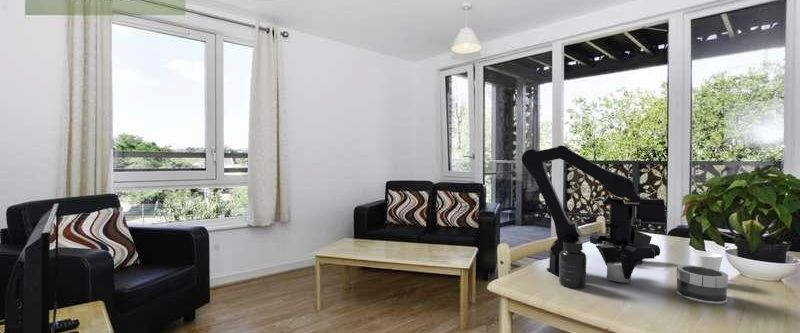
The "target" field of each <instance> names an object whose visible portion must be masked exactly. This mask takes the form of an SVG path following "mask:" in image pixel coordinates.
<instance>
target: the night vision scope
mask: <svg viewBox="0 0 800 333" xmlns="http://www.w3.org/2000/svg"><path fill="white" fill-rule="evenodd" d="M631 245H640V244H631ZM641 245H642V244H641ZM649 247H651V248H653V250H654V251H655V256H654V258H656V257H659V256H660V255H661V248H660V246H659V245H658V244H654V243H650V244H649ZM620 255H625V253H624V250H622V249H620V248H619V249H618V251H617V252H616V253H615V262H620V263H621V260H620ZM643 260H644V259H641V260H640V261H638V263H637V264H643Z"/></svg>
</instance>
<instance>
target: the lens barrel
mask: <svg viewBox="0 0 800 333" xmlns="http://www.w3.org/2000/svg"><path fill="white" fill-rule="evenodd" d="M728 286H729V275H728V274H727V273H726V272H724V271H722V270H720V269H719V270H716V269H712V268H707V267H702V266H694V265H689V264H688V265H687V264H686V265H679V266H676V287H675V294H677V295H678V296H680V297H681V298H684V299H687V300H689V301H690V300H691V301H693V302H697V303H701V304H707V305H708V304H709V305H727V303H728V300H729V299H728V297H727V296H728V295H727V294H728Z"/></svg>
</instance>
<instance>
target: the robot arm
mask: <svg viewBox="0 0 800 333" xmlns="http://www.w3.org/2000/svg"><path fill="white" fill-rule="evenodd" d="M559 159H560V160H562V161H563V162H565V163H567V164H569V165H571V166H573V168H576V169H577V170H579V171H581V172H583V173H584V174H586V175H587V176H589V177H591V178H593V179H595V180H596V181H597V182H599V183H600V185H602V186H603V187H604V188H605V189H607V190H608V192H610V193H611V194H613V195H614V196H615V198H613V197H612V196H611V195H609V194H608V195H607V197H606V198H605V199H603V200H602V201H601V202H602V204H603V205H609V208H608V209H609V211H608V212H609V213H608V214H609V217H608V222H605V227H607V228H608V233H607V232H603V233H601V232H600V233H598V232H597V233H592V234H591V235H590V236H589V243H590V244H593V245H595V248H596V249H597V250H598V252H599V253H600V256H601V257H602V259H603V261H604V264H605V266H606V267H607V263H608V262H615V253H616V252H617V251H618V249H619V248H620V249H622V250H624V253H625V255H620V260H621V264H622V269H623V274H624V277H625V279H629V278H630V276H631V277H632V274H633V271H634V270H635V267H636V266H637V264H639V263H638V261H640V260H641V259H643V260H645V259H646V260H649V259H650V260H651V259H655V257H654V256H655V251H654V250H653V248H651V247H649V244H651V241H652V238H653V236H651V235H648V234H646V233H644V232H641V231H638V227H637V225H635V224H633V217H634V216H633V215H635V217H634V218H635V219H638V220H639V223H643V224H644V223H645V224H657V225H665V224H666V220H667V213H666V207H665V206H666V205H665V199H663V198H641V196H640V194H637V193H636V192H635V186H634V185H635V184H634V183H633V181H632V180H631V179H630V178H629V177H627V176H625V175H622V174H619V173H617V172H614V171H612V170H608V169H606V168H603V167H601V166H599V165H598V164H596V163H594V162H593V161H590V160H589V159H588V158H586V157H584V156H582V155H580V154H578V153H576V152H575V151H573V150H571V149H570V148H569V147H567V146H565V145H559V146H556V147H552V148H546V149H542V150H539V149H534V148H533V149H532V148H531V149H527V150H525V151H524V152H523V153H522V156H521V163H522V164H523V166H524V168H525V169H526V170H527V171H528V173H529V174H530V175H531V177H532V178H533V179H534V181H535V183H536V185H537V187H538V189H539V192H540V194H541V196H542V198H543V200H544V202H545V205H546V207H547V209H548V212H549V213H550V215H551V218H552V220H553V223H554V229H555V233H556V234H555V235H556V238H557V239H556V240H554V241H553V243H552V245H551V246H550V251H549V264H548V265H549V267H547V268H546V271H548V272H550V273H551V274H553V275H555V276H557V277H559V254H560V252H561V251H562V250H564V248H563V242H564V241H565V240H575V241H580V242H581V238H582V237H581V236H582V231H581V230H580V229H579V226H578V223H577V220H573V221H571V220H570V219H569V217H568V216H567V213H566V212H565V210H564V207H563V205H562V202H561V200H560V198H559V196H558V194H557V192H556V190H555V188H554V185H553V183H552V181H551V179H550V177H549V174H548V168H547V164H546V162H551V161H556V160H559ZM616 197H617V198H616ZM624 198H626V199H627V200H629V201H630V202H626V201H625V200H624ZM634 208H635V210H634ZM634 212H635V214H634ZM631 244H640V245H631ZM641 244H642V245H641Z"/></svg>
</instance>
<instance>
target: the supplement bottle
mask: <svg viewBox="0 0 800 333" xmlns="http://www.w3.org/2000/svg"><path fill="white" fill-rule="evenodd" d="M563 248H564V250H562V251H561V252H560V254H559V276H558V281H559V284H560V285H561V286H563V287H565V288H568V289H576V290H577V289H578V290H579V289H580V290H581V289H583V288H585V287H586V285H587V255H586V253H585V252H583V251H584V250H583V249H584V248H583V242H582V241H581V240H580V241H575V240H565V241H564V242H563Z"/></svg>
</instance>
